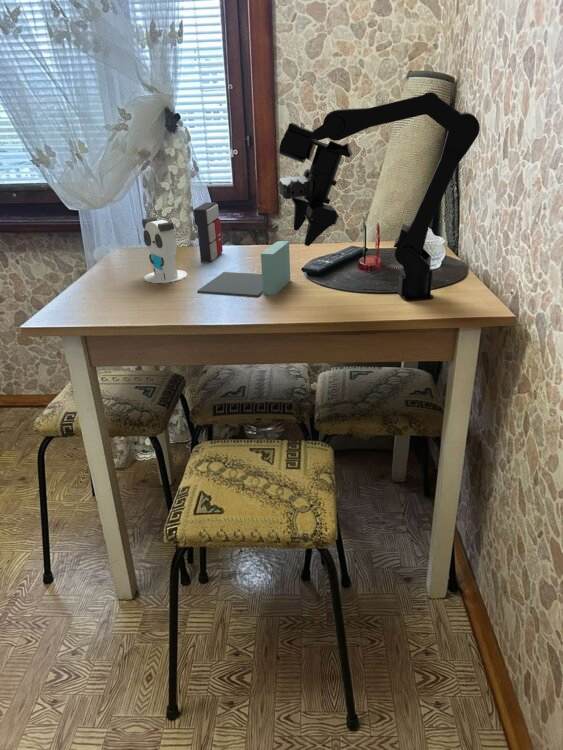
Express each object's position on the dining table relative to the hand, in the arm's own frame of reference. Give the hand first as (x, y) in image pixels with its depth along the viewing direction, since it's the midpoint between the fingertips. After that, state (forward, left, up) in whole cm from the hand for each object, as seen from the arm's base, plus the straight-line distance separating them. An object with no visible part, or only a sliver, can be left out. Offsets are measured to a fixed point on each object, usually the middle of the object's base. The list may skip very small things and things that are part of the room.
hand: (300, 237), depth 131 cm
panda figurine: (+33, -22, -13) cm, 42 cm away
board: (+5, -5, -13) cm, 15 cm away
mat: (+14, -9, -13) cm, 21 cm away
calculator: (+20, -38, -13) cm, 45 cm away
